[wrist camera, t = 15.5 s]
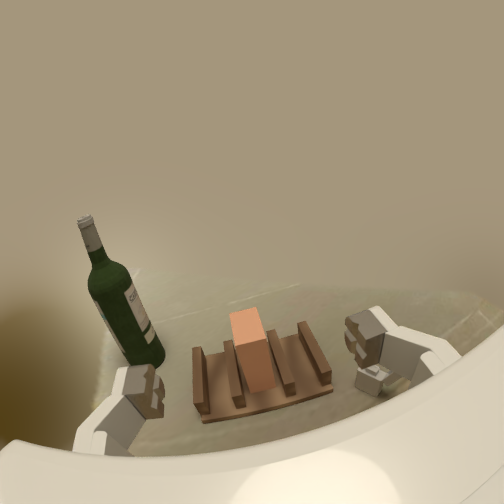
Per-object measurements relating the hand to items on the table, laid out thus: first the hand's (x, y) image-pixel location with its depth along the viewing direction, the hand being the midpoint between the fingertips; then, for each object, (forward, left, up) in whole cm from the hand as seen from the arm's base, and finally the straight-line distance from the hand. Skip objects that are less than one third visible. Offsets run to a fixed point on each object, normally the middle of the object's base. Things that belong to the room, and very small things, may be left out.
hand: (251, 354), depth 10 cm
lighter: (-16, -11, -28) cm, 34 cm away
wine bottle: (+21, -31, -28) cm, 47 cm away
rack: (0, -21, -28) cm, 35 cm away
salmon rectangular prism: (0, -21, -27) cm, 34 cm away
